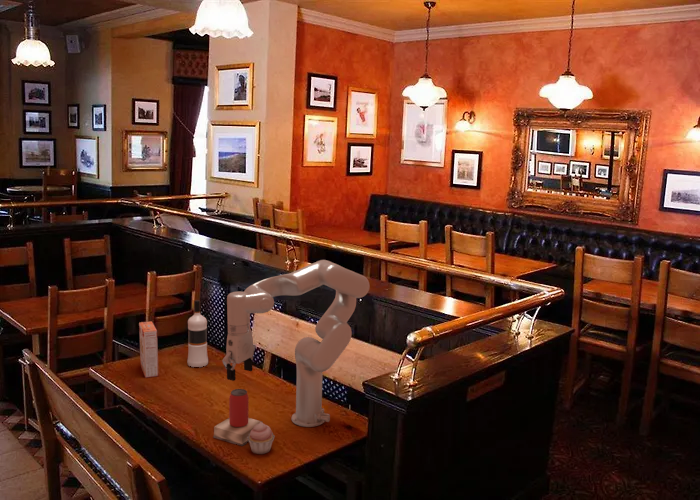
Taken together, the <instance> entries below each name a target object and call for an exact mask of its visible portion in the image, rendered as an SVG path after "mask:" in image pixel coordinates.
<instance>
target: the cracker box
mask: <svg viewBox="0 0 700 500" xmlns="http://www.w3.org/2000/svg"><path fill="white" fill-rule="evenodd" d="M138 326H139V327H138V328H139V329H138V330H139V331H138V332H139V351H140V353H139V355H140V367H141V371H142V372H143V373H142V374H143V375H144V379H146V378H154V377H159V355H158V353H159V351H158V350H159V349H158V330H157V328H156V326H155V324H154V322H153V321H141V322H140V321H139V323H138Z"/></svg>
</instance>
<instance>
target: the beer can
mask: <svg viewBox="0 0 700 500" xmlns="http://www.w3.org/2000/svg"><path fill="white" fill-rule="evenodd" d="M228 400H229V402H228V403H229V404H228V405H229V408H228V409H229V413H228V414H229V417H228V418H229V423H230V425H231V426H233V427H244V426H246V425H247V424H248V418H249V395H248V391H247V390H246V389H244V388H243V389H242V388H235V389H233V390H231V391H230V395H229V399H228Z"/></svg>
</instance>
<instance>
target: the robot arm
mask: <svg viewBox="0 0 700 500" xmlns="http://www.w3.org/2000/svg"><path fill="white" fill-rule="evenodd" d="M323 285H324V286H327V287H328V288H330V289H333V290H334V291H335V298H334V299H333V301H332V303H331V304H330V305H329V307H328V308H327V310H326V311H325V312H324V314H322V316H321V318H320V319H319V320H318V321H317V323H316V325H315V327H314V328H315V329H314V331H315V334H316V335H317V336H318V338H320V339H322V340H321V341H320V340H318V339H316V338H314V337H312V336H311V337H310V336H305V337H302V338H300V340H298V342H297V343H296V345H295V349H294V358H295V364H296V365H295V366H296V367H295V368H296V385H295V386H296V391H295V393H296V394H295V396H296V397H295V412H294V413H293V414H292V416H291V421H292V423H293V424H295V425H297V426H299V427H304V428H312V427H317V426H321V425H323V424H324V423H325V422H327V423H329V422H330V420H331V414H330V413H325V408H324V407H322V406H323V405H322V403H323V402H322V401H323V373H324V372H326V371H328V370H329V369H330V368H332V366H333V365H334V364H335V363H336V361H337V360H338V359H339V358H340V356H341V355H342V354H343V352H344V350H346V348H347V347H348V345H349V344H350V342H351V339H352V333H353V332H352V328H351V326H350V325H349V323H348V321H349V320H350V318H351V317H352V315H353V313H354V312H355V309H356V308H357V307H356V305H357V299H361V298H363V297H365V296H366V295H367V294H368V292H369V291H370V285H371V284H370V282H369V279H368V278H367V277H366V276H365V275H363V274H360V273H358V272H355V271H353V270H350V269H348V268H345V267H343V266H341V265H339V264H337V263H334V262H332V261H330V260H326V259H320V260H317V261H316V262H313V263H311V264H308V265H306V266H303V267H301V268H299V269H297V270H295V271H292V272H290V273H284V274H280V275H276V276H271V277H268V278H264V279H262V280H259V281H256V282H255V283H252V284H251V285H249V286H248V287H246V288H245V290H244V291H232V292H230V293H228V295H227V296H226V297H227V298H226V305H227V307H226V308H227V311H226V312H227V336H226V337H227V338H226V347H225V349H226V350H225V351H226V355H225V356H224V357H223V359H222V360H221V362H222V364H223V367H224V369H226V379H227V380H229V381H232V382H235V381H236V380H237V379H236V369H235V367H236V364H241V363H243V369H244V371H248V372H253V360H254V355H255V350H256V344H254V339H253V338H254V337H253V332H252V330H251V322H250V321H251V314H266V313H268V312H269V311H272V309H273V307H274V305H275V300H274V298H275V297H279V296H280V297H281V296H293V297H294V296H301V295H303V294H305V293H308V292H310V291H312V290H314V289H316V288H319V287H321V286H323Z"/></svg>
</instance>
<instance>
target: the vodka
mask: <svg viewBox="0 0 700 500" xmlns="http://www.w3.org/2000/svg"><path fill="white" fill-rule="evenodd" d="M193 304H194V310H193V311H194V314H193V315H192V316H190V317H189V318H188V320H187V329H188V331H187V333H188V335H187V336H188V337H187V338H188V343H187V345H188V354H187V360H186V361H187V366H189V367H190V366H191V368H194V367H199V368H203V366H204V367H206V366H207V365H208V364H209V357H208V350H207V349H208V342H207V338H208V336H207V330H208V326H207V325H208V319H207V318H206V317H205V316H204V315H202V314H201V300H199V299H195V300H194V301H193Z"/></svg>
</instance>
